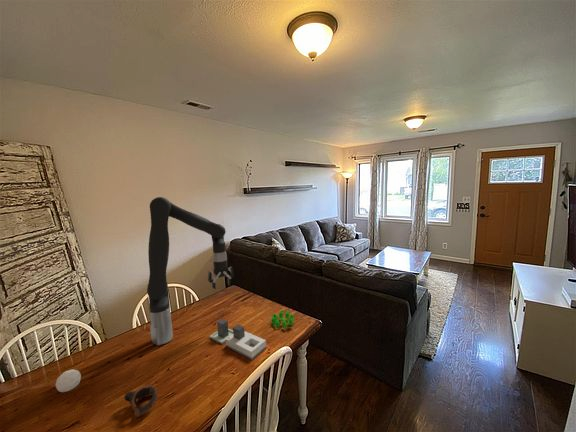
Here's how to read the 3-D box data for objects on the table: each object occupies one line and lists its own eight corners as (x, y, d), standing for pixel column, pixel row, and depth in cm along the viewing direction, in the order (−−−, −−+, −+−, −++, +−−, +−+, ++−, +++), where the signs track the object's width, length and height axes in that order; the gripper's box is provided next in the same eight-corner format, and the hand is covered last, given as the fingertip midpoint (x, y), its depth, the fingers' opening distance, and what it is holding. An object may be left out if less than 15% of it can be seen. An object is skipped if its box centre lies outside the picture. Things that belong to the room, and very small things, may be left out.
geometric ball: (52, 400, 95) (49, 381, 94) (64, 384, 103) (61, 367, 102) (75, 394, 97) (72, 376, 96) (86, 379, 105) (83, 362, 104)
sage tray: (222, 344, 125) (222, 342, 125) (209, 337, 130) (209, 335, 130) (236, 334, 133) (236, 332, 133) (224, 328, 139) (224, 326, 138)
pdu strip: (252, 359, 112) (250, 341, 111) (226, 346, 123) (224, 329, 122) (266, 347, 121) (265, 330, 119) (240, 336, 131) (239, 320, 130)
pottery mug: (163, 392, 97) (161, 383, 92) (152, 422, 89) (149, 413, 84) (131, 389, 95) (128, 380, 91) (117, 419, 87) (113, 411, 83)
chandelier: (300, 319, 145) (299, 308, 144) (287, 333, 132) (286, 321, 131) (278, 313, 153) (278, 303, 152) (264, 326, 140) (264, 314, 139)
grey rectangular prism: (223, 338, 129) (222, 324, 128) (218, 335, 131) (216, 321, 130) (228, 335, 132) (227, 321, 131) (223, 332, 134) (222, 318, 133)
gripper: (209, 263, 131) (211, 292, 133) (234, 258, 139) (236, 285, 141) (205, 260, 138) (207, 287, 140) (229, 255, 145) (231, 281, 147)
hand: (222, 286), depth 140 cm, fingers open, 8 cm apart
